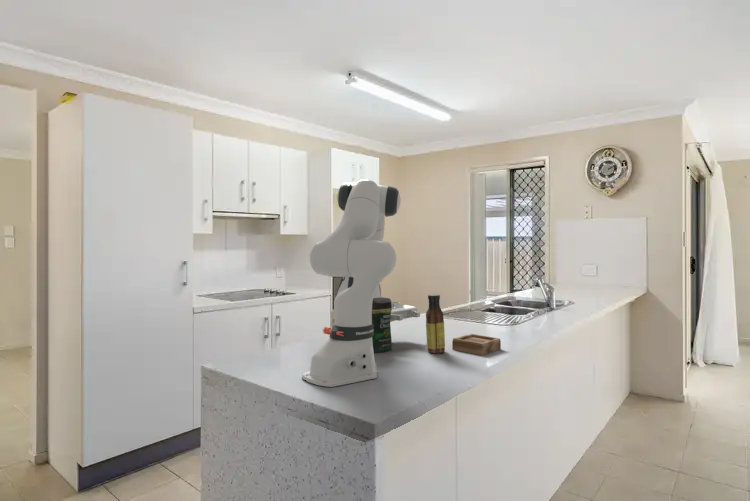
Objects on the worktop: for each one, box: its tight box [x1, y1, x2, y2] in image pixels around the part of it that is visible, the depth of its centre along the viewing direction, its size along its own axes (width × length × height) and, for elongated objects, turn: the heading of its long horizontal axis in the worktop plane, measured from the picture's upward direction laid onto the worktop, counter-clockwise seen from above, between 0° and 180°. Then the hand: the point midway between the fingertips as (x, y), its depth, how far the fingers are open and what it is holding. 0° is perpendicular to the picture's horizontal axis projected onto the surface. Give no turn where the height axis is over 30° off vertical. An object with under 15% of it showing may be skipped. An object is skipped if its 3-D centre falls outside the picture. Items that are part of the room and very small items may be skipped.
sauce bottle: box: [425, 293, 446, 354], centre depth 159 cm, size 6×6×20 cm
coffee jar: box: [372, 296, 393, 353], centre depth 162 cm, size 10×8×19 cm
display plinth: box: [452, 333, 502, 356], centre depth 162 cm, size 12×12×4 cm
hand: (410, 316), depth 167 cm, fingers open, 8 cm apart
